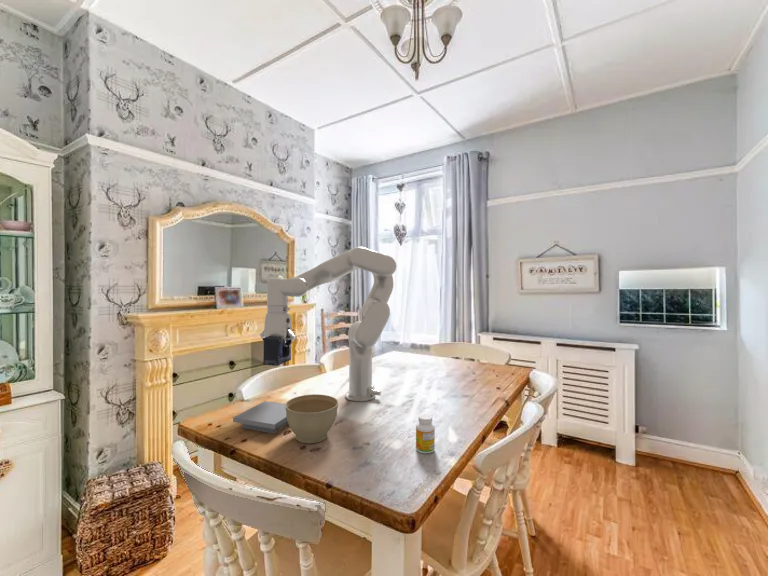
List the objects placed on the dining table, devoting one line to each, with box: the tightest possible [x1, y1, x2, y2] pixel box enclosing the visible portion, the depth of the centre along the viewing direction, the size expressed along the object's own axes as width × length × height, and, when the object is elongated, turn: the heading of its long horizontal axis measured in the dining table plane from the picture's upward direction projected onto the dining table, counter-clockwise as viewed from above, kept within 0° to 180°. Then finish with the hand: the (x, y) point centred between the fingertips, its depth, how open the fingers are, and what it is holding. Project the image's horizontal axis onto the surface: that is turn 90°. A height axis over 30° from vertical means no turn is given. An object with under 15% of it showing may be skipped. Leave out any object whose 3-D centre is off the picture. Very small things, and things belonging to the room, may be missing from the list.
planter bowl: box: [284, 393, 339, 444], centre depth 107 cm, size 16×16×11 cm
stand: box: [232, 400, 289, 434], centre depth 117 cm, size 16×16×4 cm
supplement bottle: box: [415, 413, 436, 454], centre depth 100 cm, size 5×5×10 cm
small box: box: [262, 336, 292, 367], centre depth 134 cm, size 11×6×10 cm, turn 167°
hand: (277, 355), depth 134 cm, fingers closed on small box, 6 cm apart
